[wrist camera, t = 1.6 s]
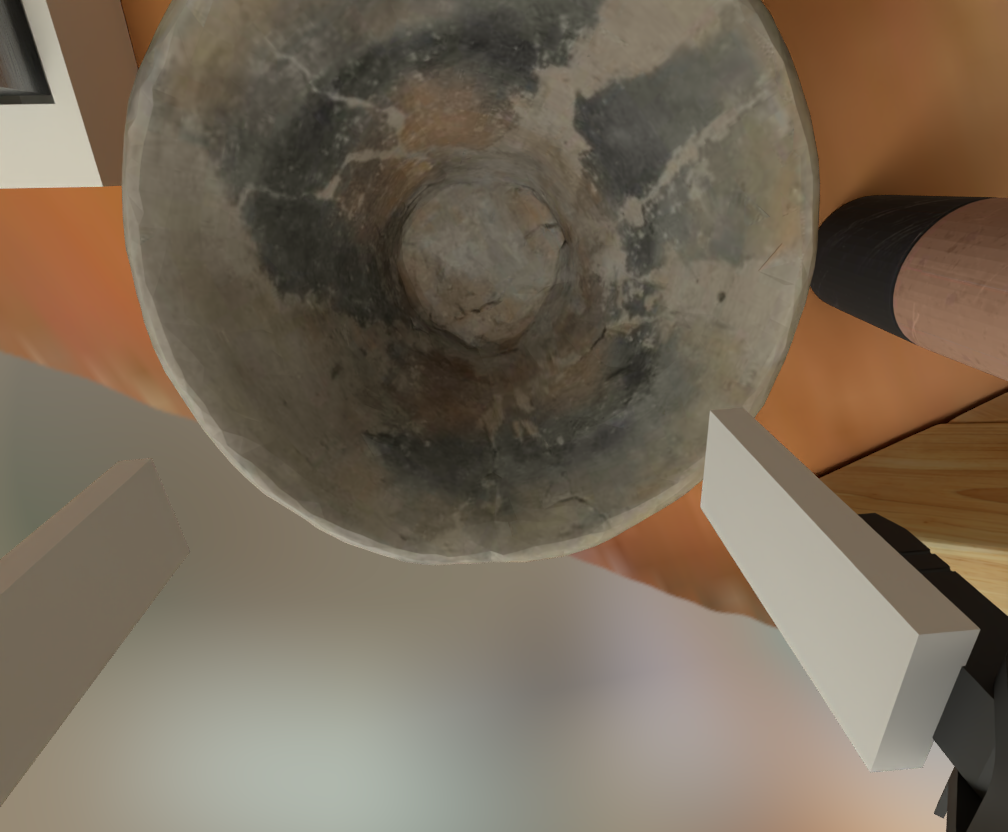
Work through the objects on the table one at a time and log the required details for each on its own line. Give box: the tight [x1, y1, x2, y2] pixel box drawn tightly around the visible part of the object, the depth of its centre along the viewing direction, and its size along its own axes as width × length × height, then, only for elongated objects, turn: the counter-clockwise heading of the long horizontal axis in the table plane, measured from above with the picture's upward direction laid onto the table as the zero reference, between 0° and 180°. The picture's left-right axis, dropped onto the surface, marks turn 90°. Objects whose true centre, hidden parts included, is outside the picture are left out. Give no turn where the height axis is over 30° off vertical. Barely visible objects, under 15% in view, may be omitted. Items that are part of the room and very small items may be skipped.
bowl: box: [122, 0, 820, 565], centre depth 27 cm, size 27×26×15 cm
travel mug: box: [810, 195, 1008, 381], centre depth 26 cm, size 8×8×20 cm
